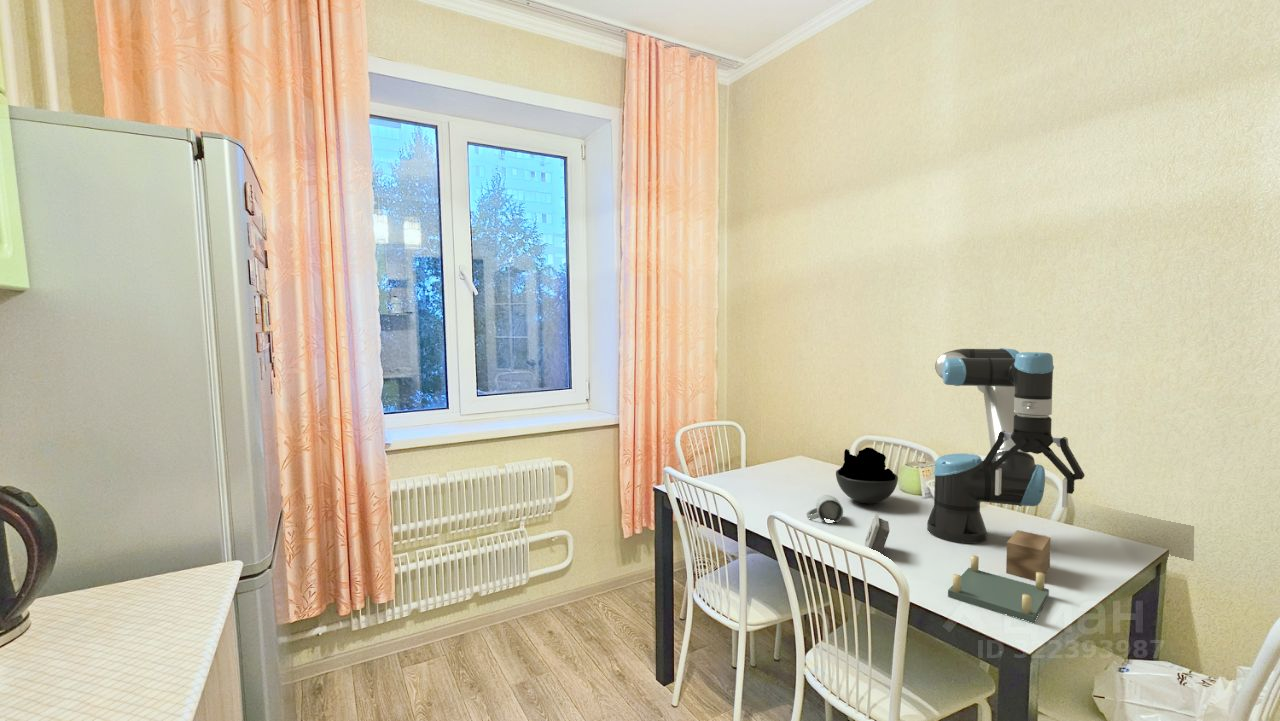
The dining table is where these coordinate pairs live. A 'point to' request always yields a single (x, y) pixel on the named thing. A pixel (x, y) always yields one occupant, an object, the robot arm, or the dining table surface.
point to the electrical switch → (877, 534)
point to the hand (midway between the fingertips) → (1030, 500)
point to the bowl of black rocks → (866, 477)
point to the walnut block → (1027, 555)
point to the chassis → (1000, 592)
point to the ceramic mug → (827, 509)
